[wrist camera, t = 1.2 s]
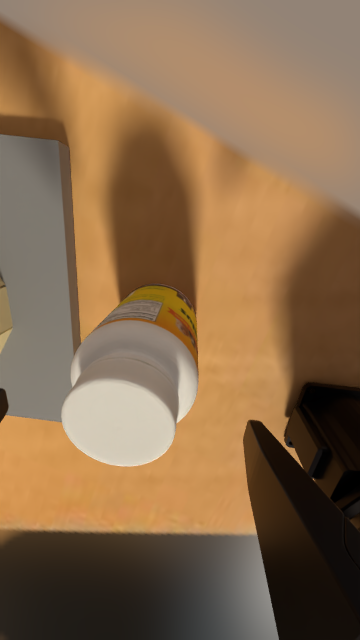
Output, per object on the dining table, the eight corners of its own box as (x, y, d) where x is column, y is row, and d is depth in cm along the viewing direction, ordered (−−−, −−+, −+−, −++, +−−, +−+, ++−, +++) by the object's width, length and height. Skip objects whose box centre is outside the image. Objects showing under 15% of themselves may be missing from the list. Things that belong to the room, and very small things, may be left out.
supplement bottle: (197, 351, 18) (201, 486, 9) (126, 352, 19) (56, 482, 9) (196, 279, 16) (198, 354, 7) (116, 281, 17) (13, 356, 7)
